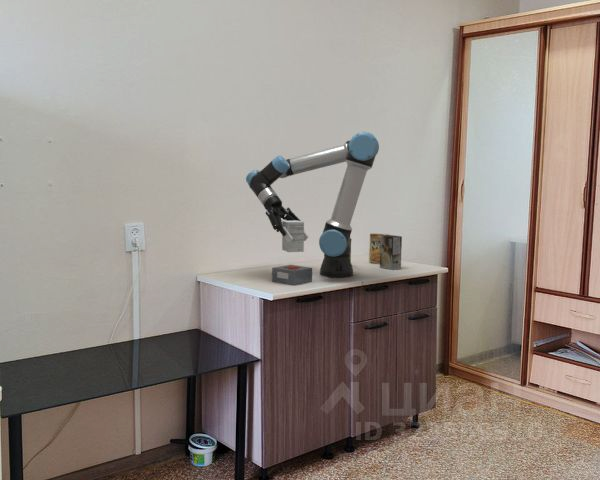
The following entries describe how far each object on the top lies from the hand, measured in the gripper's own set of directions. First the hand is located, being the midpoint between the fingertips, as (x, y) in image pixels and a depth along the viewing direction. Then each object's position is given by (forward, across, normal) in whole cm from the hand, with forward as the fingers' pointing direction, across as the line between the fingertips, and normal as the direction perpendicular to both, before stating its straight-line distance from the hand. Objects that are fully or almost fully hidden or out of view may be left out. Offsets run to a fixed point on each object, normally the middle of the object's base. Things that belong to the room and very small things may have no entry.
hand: (298, 239), depth 255 cm
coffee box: (+19, -62, -8) cm, 65 cm away
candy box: (+9, -72, -17) cm, 74 cm away
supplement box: (+1, 0, -6) cm, 6 cm away
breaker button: (+9, 0, -14) cm, 17 cm away
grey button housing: (+10, 0, -15) cm, 18 cm away
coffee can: (+4, -48, -22) cm, 53 cm away
